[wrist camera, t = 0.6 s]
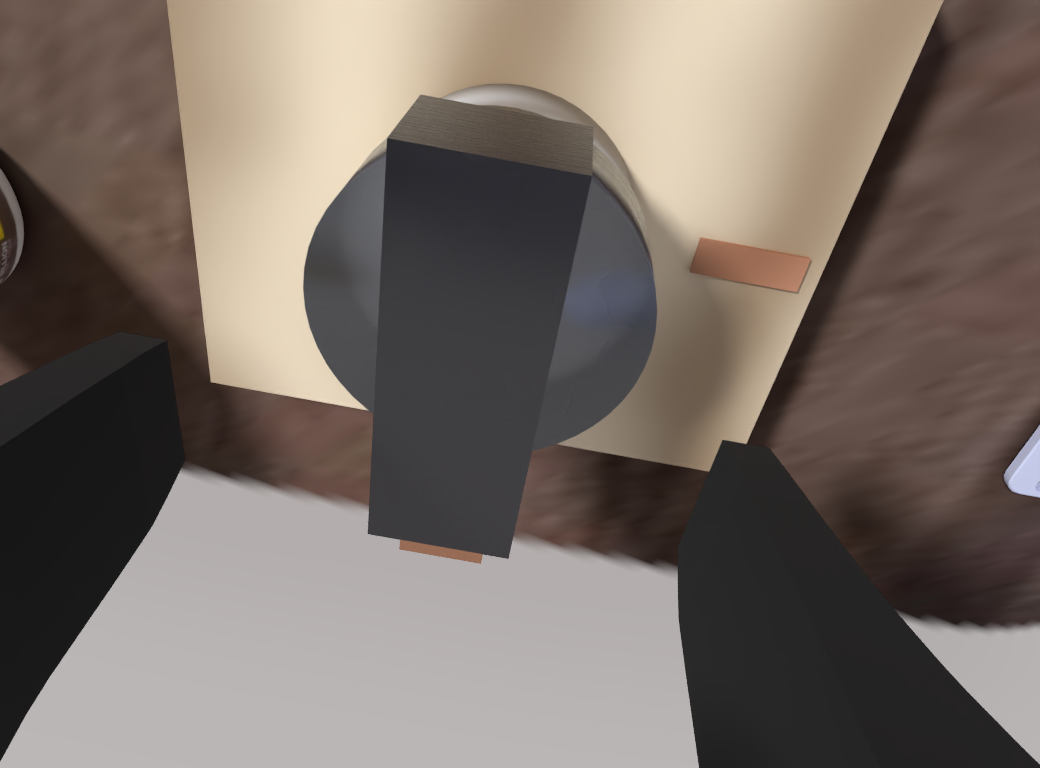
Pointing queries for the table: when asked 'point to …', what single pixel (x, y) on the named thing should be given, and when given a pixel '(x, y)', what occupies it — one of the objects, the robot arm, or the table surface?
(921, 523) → the table surface
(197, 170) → the cream base plate
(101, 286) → the table surface
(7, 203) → the supplement bottle
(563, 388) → the rotary knob
